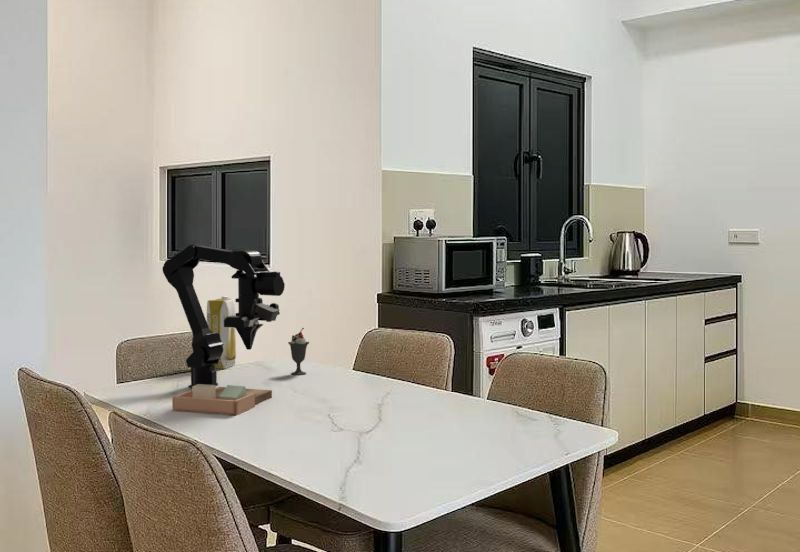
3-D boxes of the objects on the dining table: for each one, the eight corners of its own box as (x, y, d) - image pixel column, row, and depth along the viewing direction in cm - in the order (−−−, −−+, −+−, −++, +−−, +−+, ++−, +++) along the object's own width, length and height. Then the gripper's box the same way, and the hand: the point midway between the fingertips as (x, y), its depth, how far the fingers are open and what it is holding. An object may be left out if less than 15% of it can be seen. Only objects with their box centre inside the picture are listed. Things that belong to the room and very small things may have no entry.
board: (197, 402, 209) (196, 395, 209) (219, 393, 221) (219, 386, 220) (251, 406, 204) (251, 399, 204) (271, 397, 216) (271, 390, 216)
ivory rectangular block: (198, 402, 206) (192, 405, 203) (198, 384, 206) (192, 386, 203) (215, 404, 205) (210, 406, 202) (215, 385, 205) (209, 387, 202)
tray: (172, 410, 200) (172, 396, 200) (193, 402, 209) (193, 389, 209) (236, 415, 195) (236, 401, 194) (254, 406, 204) (254, 393, 204)
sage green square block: (221, 405, 203) (219, 396, 202) (230, 394, 207) (227, 385, 206) (239, 407, 201) (236, 397, 200) (247, 395, 206) (244, 386, 204)
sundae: (307, 375, 249) (307, 328, 248) (286, 375, 249) (286, 328, 249) (310, 372, 256) (310, 326, 255) (289, 371, 256) (289, 326, 255)
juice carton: (226, 369, 260) (226, 297, 258) (204, 368, 261) (203, 296, 260) (238, 365, 269) (237, 295, 268) (216, 364, 270) (215, 294, 269)
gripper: (259, 298, 212) (259, 355, 213) (288, 293, 230) (288, 346, 231) (222, 296, 215) (222, 353, 216) (254, 292, 233) (254, 344, 234)
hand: (249, 349), depth 224 cm, fingers closed
